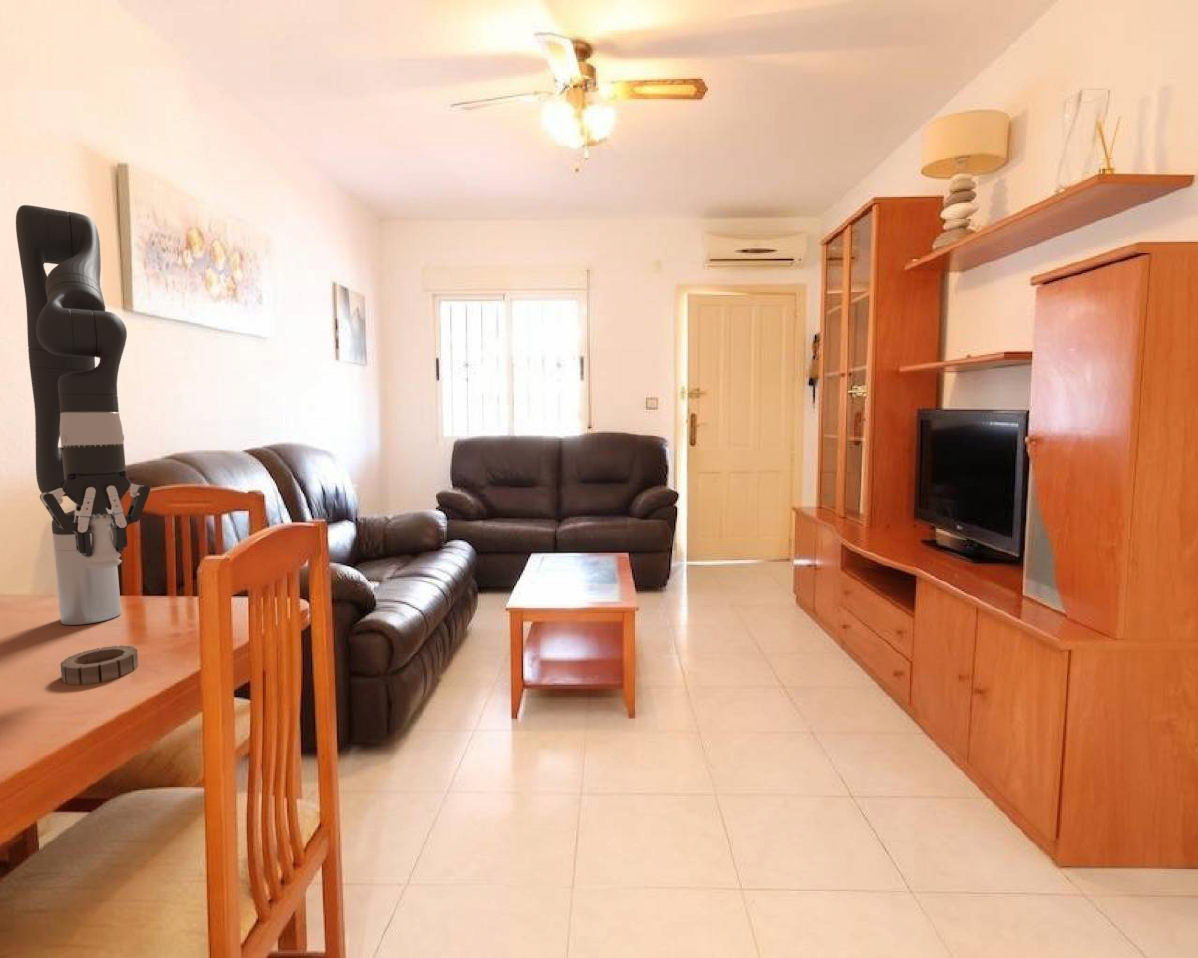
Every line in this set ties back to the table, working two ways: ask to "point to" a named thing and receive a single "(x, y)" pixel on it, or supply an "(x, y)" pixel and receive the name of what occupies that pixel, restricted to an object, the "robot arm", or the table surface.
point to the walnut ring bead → (99, 665)
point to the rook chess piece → (102, 543)
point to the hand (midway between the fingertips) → (102, 553)
